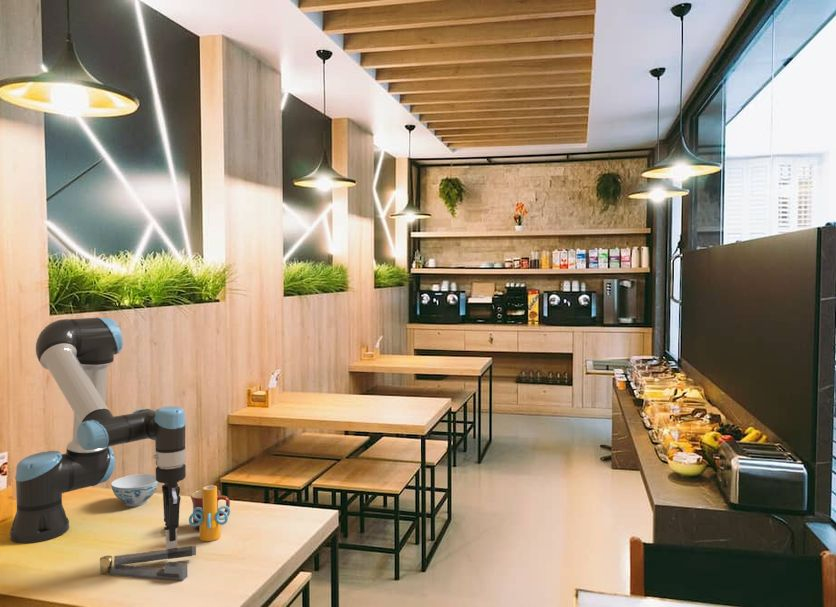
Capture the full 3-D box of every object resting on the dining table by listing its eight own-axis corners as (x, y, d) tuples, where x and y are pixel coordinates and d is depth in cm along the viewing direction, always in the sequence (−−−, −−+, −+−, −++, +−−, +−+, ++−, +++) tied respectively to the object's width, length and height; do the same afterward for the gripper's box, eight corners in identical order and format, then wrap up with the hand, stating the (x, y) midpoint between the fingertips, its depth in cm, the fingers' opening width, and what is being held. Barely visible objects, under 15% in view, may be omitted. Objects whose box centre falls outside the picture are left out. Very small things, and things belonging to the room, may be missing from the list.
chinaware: (128, 514, 204) (128, 490, 203) (102, 505, 212) (101, 482, 212) (168, 501, 216) (168, 478, 216) (142, 492, 224) (142, 471, 224)
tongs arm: (114, 566, 162) (113, 559, 162) (115, 562, 165) (115, 555, 165) (196, 555, 169) (195, 549, 169) (196, 551, 171) (196, 545, 171)
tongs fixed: (97, 574, 162) (97, 559, 162) (104, 569, 165) (104, 555, 165) (182, 581, 158) (181, 566, 158) (187, 576, 161) (187, 561, 161)
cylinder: (238, 533, 188) (238, 484, 188) (216, 547, 178) (216, 495, 178) (204, 528, 192) (204, 480, 192) (181, 541, 182) (180, 490, 182)
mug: (185, 531, 190) (185, 497, 190) (198, 520, 199) (198, 488, 198) (223, 532, 189) (223, 499, 188) (235, 521, 198) (234, 489, 197)
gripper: (152, 461, 173) (153, 545, 174) (159, 473, 162) (160, 563, 163) (180, 457, 177) (181, 539, 178) (190, 469, 166) (191, 557, 167)
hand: (171, 551), depth 170 cm, fingers closed
